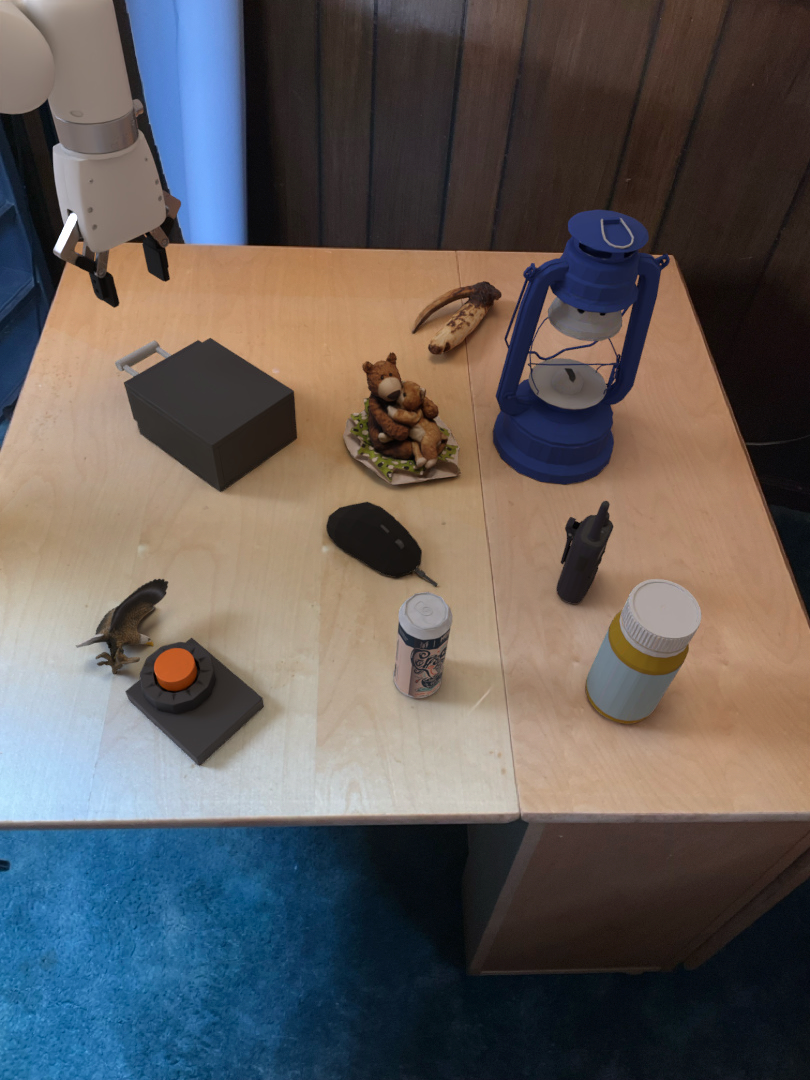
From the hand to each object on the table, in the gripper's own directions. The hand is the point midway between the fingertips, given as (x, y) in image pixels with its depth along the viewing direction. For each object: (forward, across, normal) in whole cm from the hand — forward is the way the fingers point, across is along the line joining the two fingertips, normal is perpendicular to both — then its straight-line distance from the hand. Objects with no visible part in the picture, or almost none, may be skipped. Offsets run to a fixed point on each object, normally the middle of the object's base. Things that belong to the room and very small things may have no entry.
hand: (134, 287), depth 92 cm
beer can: (+16, +10, +51) cm, 55 cm away
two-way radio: (+16, -10, +56) cm, 59 cm away
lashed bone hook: (+16, -38, +18) cm, 45 cm away
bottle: (+16, -2, +67) cm, 69 cm away
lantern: (+16, -28, +42) cm, 53 cm away
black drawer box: (+16, 0, +11) cm, 19 cm away
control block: (+16, +26, +37) cm, 48 cm away
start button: (+13, +26, +35) cm, 46 cm away
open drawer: (+15, 0, +6) cm, 16 cm away
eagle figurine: (+16, +26, +27) cm, 41 cm away
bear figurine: (+16, -14, +29) cm, 36 cm away
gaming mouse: (+16, 0, +38) cm, 42 cm away
